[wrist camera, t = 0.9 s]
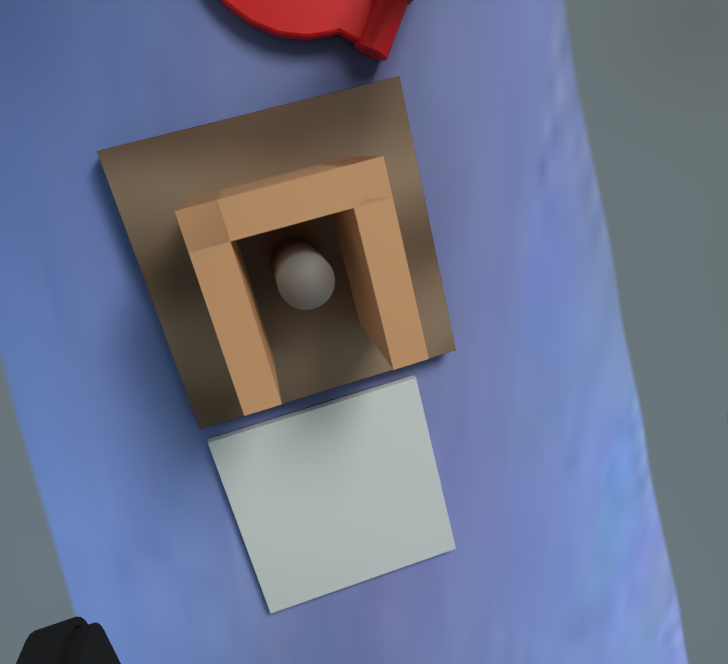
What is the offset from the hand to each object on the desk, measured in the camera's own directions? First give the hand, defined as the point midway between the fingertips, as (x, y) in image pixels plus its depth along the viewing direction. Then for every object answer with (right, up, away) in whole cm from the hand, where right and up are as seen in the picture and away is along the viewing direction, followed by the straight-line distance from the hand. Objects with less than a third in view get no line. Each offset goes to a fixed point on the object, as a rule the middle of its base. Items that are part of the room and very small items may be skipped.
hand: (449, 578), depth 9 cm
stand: (-4, +7, +18) cm, 19 cm away
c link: (-4, +7, +17) cm, 18 cm away
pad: (-2, -5, +21) cm, 22 cm away
